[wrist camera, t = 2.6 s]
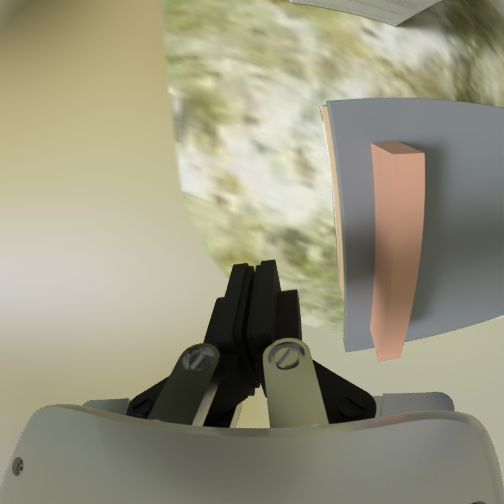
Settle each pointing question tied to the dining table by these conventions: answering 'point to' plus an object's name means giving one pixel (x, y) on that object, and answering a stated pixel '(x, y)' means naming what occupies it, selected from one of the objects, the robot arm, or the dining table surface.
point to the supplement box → (375, 8)
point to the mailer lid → (418, 217)
